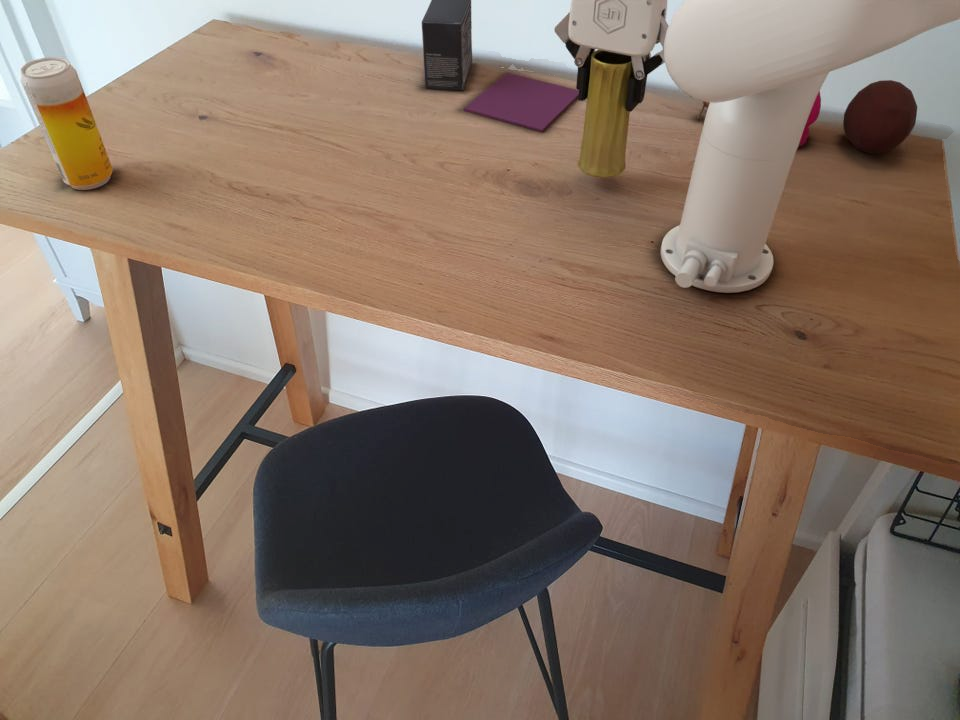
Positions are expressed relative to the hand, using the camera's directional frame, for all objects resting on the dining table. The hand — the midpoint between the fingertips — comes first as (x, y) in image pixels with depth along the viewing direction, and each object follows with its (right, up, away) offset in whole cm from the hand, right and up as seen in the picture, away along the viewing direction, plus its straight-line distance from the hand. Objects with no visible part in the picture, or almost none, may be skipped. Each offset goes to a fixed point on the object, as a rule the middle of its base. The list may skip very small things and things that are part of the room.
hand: (609, 100), depth 92 cm
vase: (0, -7, +6) cm, 9 cm away
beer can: (-66, -8, +7) cm, 67 cm away
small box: (-21, +14, +30) cm, 39 cm away
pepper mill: (+28, 0, +17) cm, 33 cm away
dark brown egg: (+39, -2, +15) cm, 42 cm away
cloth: (-9, +8, +24) cm, 27 cm away
